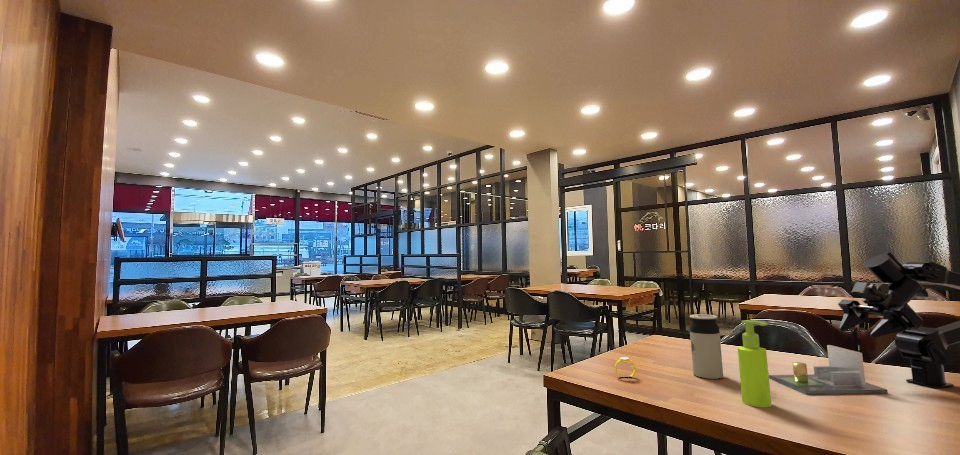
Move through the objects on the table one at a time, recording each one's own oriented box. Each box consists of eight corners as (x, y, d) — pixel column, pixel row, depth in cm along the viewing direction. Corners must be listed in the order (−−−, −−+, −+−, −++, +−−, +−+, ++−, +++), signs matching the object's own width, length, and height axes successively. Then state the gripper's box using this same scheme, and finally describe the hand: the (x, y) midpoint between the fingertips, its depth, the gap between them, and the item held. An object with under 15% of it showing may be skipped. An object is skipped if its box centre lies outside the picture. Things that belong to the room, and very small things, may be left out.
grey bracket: (833, 375, 113) (830, 345, 113) (865, 386, 103) (861, 353, 103) (810, 375, 113) (806, 345, 114) (839, 386, 103) (836, 353, 104)
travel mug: (723, 374, 121) (718, 314, 123) (723, 381, 115) (717, 318, 116) (694, 371, 126) (689, 313, 127) (692, 377, 119) (687, 316, 120)
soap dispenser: (767, 410, 92) (759, 323, 94) (737, 401, 98) (730, 320, 100) (781, 405, 95) (773, 321, 96) (750, 397, 101) (743, 317, 103)
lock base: (841, 377, 114) (838, 356, 115) (888, 393, 100) (885, 369, 101) (769, 378, 115) (767, 357, 116) (805, 394, 102) (803, 370, 102)
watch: (617, 379, 120) (614, 359, 121) (615, 377, 123) (612, 357, 123) (637, 378, 119) (634, 358, 120) (635, 376, 122) (632, 356, 123)
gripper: (844, 272, 119) (806, 306, 118) (909, 274, 100) (866, 315, 99) (871, 300, 118) (834, 335, 117) (943, 307, 99) (899, 349, 98)
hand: (855, 333), depth 108 cm, fingers open, 9 cm apart
